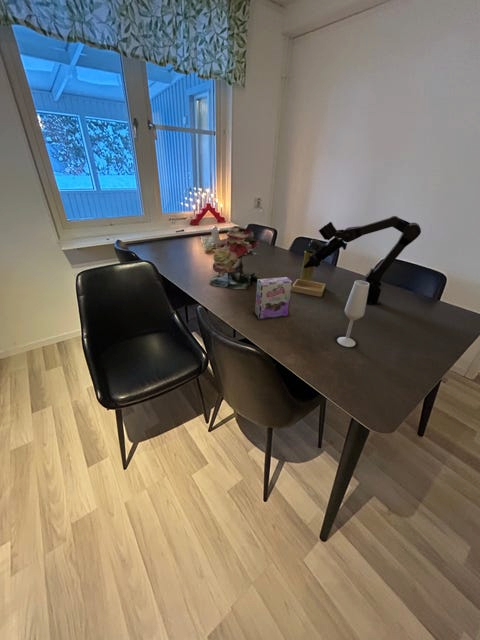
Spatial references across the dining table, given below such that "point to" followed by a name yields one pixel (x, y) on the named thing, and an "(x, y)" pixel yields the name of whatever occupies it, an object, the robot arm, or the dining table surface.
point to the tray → (308, 287)
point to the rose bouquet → (234, 259)
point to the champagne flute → (355, 308)
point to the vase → (308, 271)
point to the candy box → (273, 297)
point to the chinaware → (211, 239)
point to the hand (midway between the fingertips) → (305, 265)
